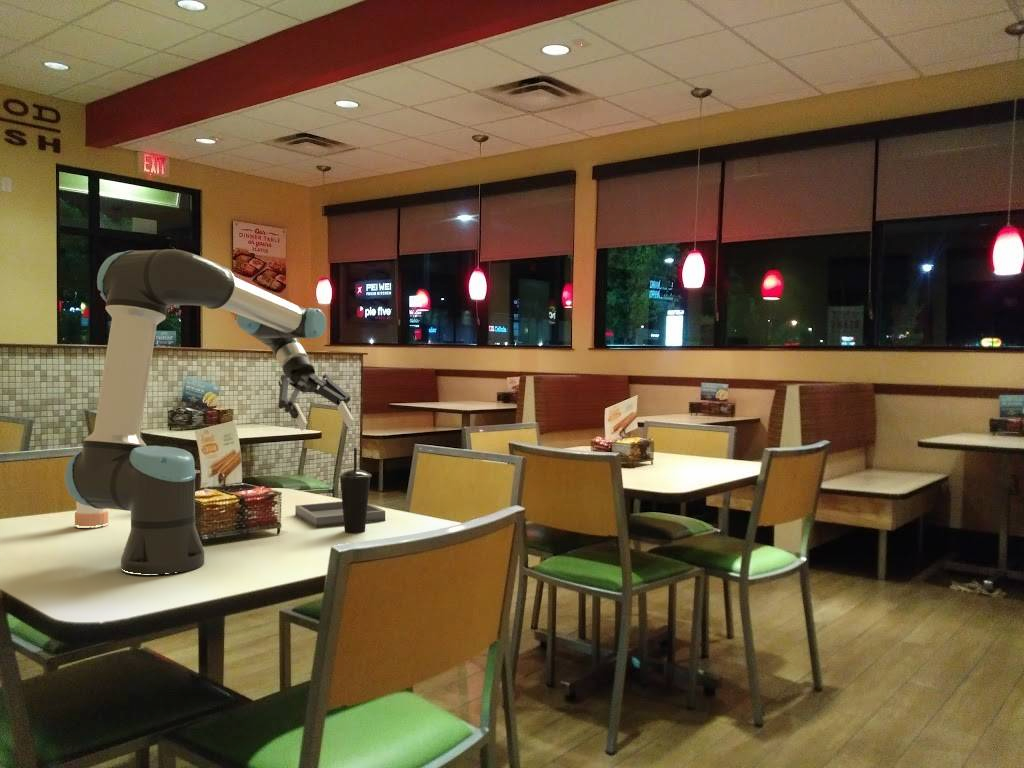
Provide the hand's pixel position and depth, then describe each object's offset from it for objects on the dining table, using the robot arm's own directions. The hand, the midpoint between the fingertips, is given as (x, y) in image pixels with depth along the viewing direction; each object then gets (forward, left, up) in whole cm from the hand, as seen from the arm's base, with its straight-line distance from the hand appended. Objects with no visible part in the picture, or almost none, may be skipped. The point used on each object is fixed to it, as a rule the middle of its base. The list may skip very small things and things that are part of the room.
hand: (328, 425), depth 197 cm
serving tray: (+5, +4, -25) cm, 25 cm away
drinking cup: (+3, -13, -25) cm, 28 cm away
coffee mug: (-29, +37, -25) cm, 54 cm away
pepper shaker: (-51, +23, -25) cm, 62 cm away
